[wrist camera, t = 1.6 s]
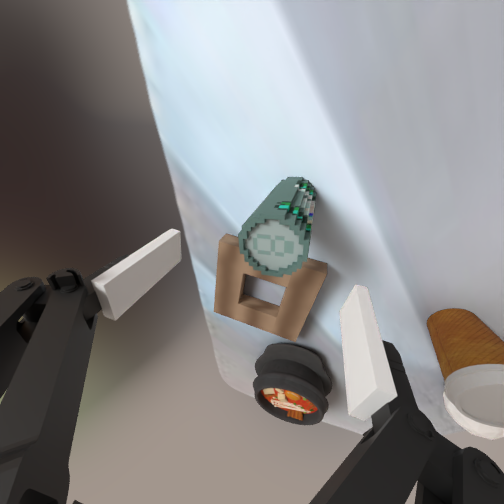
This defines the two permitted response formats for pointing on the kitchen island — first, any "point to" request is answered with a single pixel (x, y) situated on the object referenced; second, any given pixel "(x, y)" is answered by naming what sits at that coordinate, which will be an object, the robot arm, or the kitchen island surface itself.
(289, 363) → the casserole
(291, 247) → the can
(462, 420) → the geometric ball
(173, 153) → the kitchen island surface
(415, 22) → the kitchen island surface
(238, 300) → the frame
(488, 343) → the disposable coffee cup
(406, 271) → the kitchen island surface
